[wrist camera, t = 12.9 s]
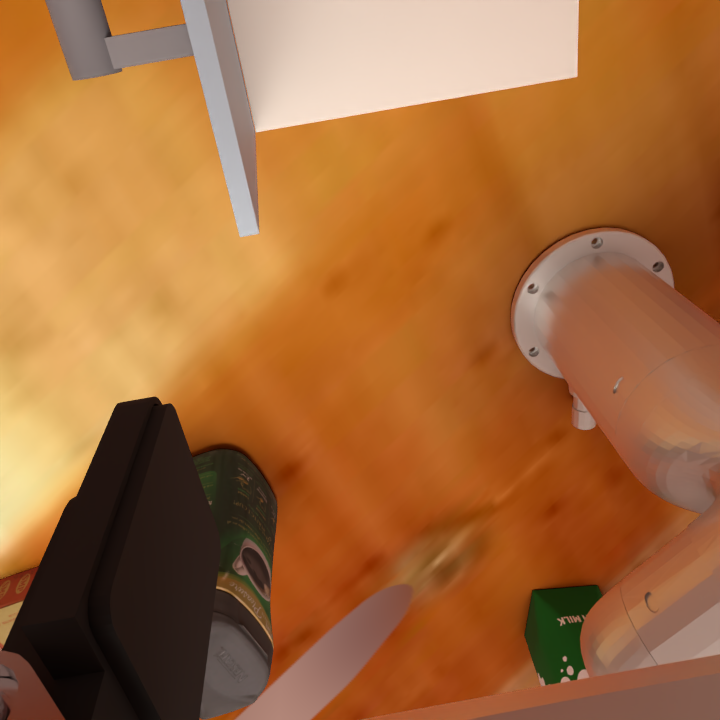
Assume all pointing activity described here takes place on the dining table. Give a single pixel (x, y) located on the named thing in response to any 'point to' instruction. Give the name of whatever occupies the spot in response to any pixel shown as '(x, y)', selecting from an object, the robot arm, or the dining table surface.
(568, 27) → the box body
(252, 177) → the lid flap
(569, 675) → the milk carton
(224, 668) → the coffee jar
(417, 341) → the dining table surface
